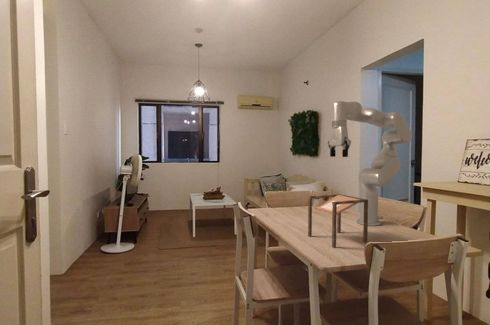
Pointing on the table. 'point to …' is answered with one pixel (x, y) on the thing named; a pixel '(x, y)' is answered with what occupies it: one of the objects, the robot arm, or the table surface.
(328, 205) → the trapdoor
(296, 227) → the table surface
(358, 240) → the table surface
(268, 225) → the table surface
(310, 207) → the stand
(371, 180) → the robot arm
